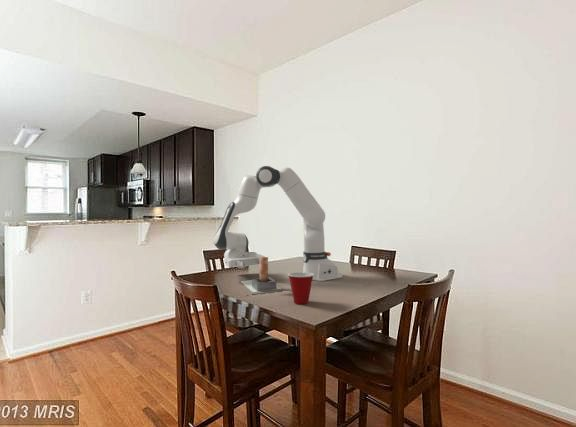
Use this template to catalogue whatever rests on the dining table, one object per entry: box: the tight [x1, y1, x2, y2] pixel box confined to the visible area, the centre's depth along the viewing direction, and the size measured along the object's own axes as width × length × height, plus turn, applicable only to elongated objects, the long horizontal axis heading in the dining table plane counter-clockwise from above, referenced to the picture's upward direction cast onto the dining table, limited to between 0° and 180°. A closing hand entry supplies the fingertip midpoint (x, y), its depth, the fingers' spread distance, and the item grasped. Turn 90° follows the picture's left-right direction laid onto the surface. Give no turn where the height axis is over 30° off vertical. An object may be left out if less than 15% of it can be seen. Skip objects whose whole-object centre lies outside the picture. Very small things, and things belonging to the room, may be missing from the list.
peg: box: [258, 256, 269, 282], centre depth 152 cm, size 4×4×14 cm
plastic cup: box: [287, 271, 314, 305], centre depth 134 cm, size 11×11×12 cm
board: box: [240, 276, 283, 296], centre depth 157 cm, size 14×22×5 cm, turn 22°
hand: (252, 263), depth 162 cm, fingers open, 8 cm apart
